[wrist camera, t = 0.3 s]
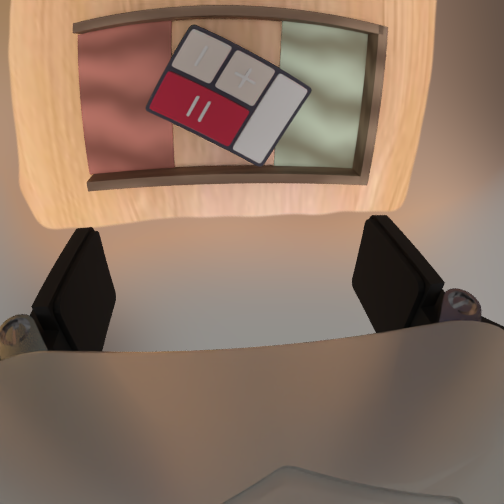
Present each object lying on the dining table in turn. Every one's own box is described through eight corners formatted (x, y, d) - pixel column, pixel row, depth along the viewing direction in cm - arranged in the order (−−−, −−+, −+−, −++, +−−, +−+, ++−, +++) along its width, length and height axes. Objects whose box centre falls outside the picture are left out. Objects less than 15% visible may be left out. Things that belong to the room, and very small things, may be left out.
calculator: (190, 22, 26) (315, 89, 31) (194, 26, 29) (306, 86, 34) (141, 111, 31) (262, 170, 36) (150, 106, 34) (258, 159, 39)
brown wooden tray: (78, 26, 26) (68, 24, 24) (376, 28, 30) (387, 27, 28) (91, 182, 38) (84, 191, 36) (358, 176, 42) (367, 185, 40)
